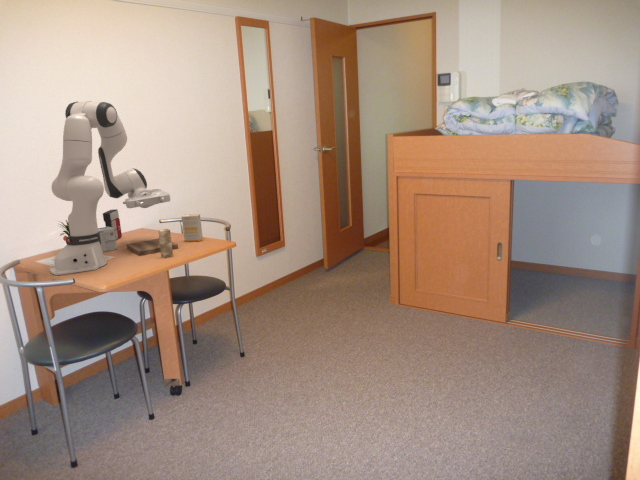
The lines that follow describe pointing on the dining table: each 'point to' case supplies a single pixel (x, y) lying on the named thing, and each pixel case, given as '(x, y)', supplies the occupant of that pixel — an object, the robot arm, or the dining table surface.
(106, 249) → the light bulb box
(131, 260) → the dining table surface
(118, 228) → the packaged product box
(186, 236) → the supplement box
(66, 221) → the house plant
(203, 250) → the dining table surface
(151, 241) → the walnut board
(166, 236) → the beech block
